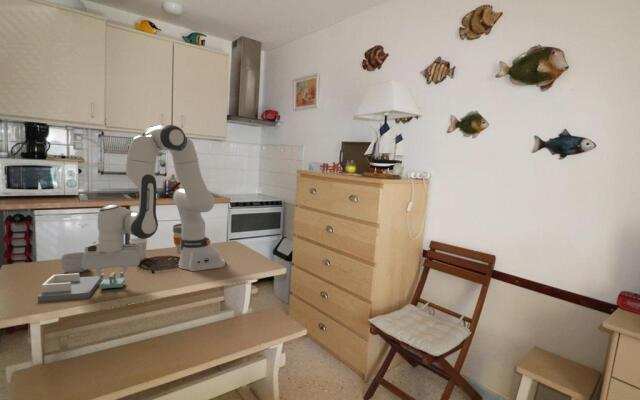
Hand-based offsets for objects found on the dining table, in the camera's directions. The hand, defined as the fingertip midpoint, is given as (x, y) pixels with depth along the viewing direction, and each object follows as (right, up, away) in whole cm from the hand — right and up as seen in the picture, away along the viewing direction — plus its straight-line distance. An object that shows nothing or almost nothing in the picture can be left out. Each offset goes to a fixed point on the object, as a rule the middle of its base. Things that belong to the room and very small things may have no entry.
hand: (112, 277), depth 138 cm
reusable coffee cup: (+8, +2, +53) cm, 54 cm away
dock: (-13, -4, -4) cm, 15 cm away
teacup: (-25, -1, +15) cm, 29 cm away
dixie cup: (-9, +1, +37) cm, 38 cm away
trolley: (0, -4, +1) cm, 4 cm away
